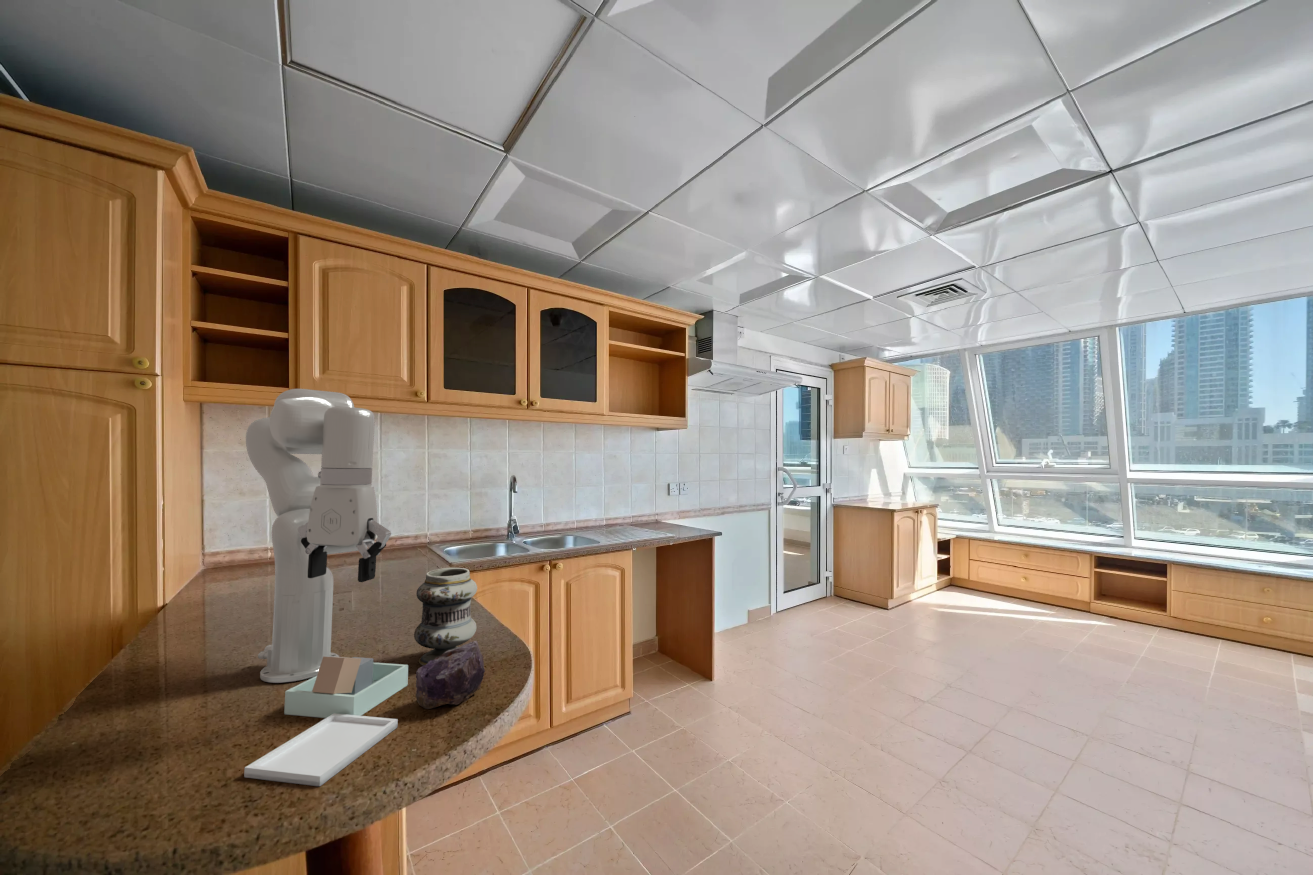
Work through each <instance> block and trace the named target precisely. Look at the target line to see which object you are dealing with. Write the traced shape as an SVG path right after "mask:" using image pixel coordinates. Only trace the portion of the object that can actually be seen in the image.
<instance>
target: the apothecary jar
mask: <svg viewBox="0 0 1313 875" xmlns="http://www.w3.org/2000/svg"><path fill="white" fill-rule="evenodd" d="M477 592H478V585H477V582H476V581H475V580H473V579H472V578H471V575H470V570H469V569H468V568H464V567H443V568H438V569H433V570H430V571H428V572H426V575H425V580H424V582H423V583H422V584H420V586H418V588H417V590H416V597H417V599H418V601H420V602H421V603H422V611H421V612H422V613H421V614H422V615H421V621H420V623H419V624H418V625H417V626H416V628H415V630H414V634H413V637H414V640H415V642H416V643H417V644H418V645H419V646H421V647H422V648H423V647H424V648H426V649H432V650H430V651H428V652H426V653H424V654H423V655H421V657H420V658H419V660H418V663H419V664H420V665H421V666H424V665H426V664H427V663H428V662H429V661H430V660H434V659H435V658H437V657H439V656H441V655H442V654H444V653H445V652H446V651H448V650H453V649H456V648H458V647H459V646H460V645H461V646H462V645H464V644H466V642H468V641H470V640H471V639H472V637H473V636H474V635H475V634H476V631H477V623H476V621H475V620H474V619H473V618H472V614H471V613H472V612H471V610H472V609H471V608H472V607H471V605H472V598H473V597H474V596H475V595H476V593H477Z"/></svg>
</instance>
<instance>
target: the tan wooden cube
mask: <svg viewBox="0 0 1313 875" xmlns="http://www.w3.org/2000/svg"><path fill="white" fill-rule="evenodd" d="M361 658H362V657H360V658H353V657H346V656H345V657H343V656H339V657H323V659H322V662H321V665H320V668H319V671H318V674H317V678H316V681H315V684H314V687H313V690H312V692H320V693H332V694H336V693H352V689H353V686H354V682H355V679H356V676H357V672H358V669H359V665H360V662H361Z"/></svg>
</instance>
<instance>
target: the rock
mask: <svg viewBox="0 0 1313 875" xmlns="http://www.w3.org/2000/svg"><path fill="white" fill-rule="evenodd" d="M457 647H458V648H456V649H453V650H448V651H446V652H445V653H444V654H442V655H441V656H439V657H437V658H435V659H434V660H430V661H429V662H428V663H427V664H426V665H424V666H423V665H421V666H420V667H418V669H416V673H415V674H416V675H415V678H416V680H415V681H416V682H415V687H416V692H415V698H416V702H417V703H418V705H419V706H420V707H422V708H423V709H427V710H431V709H435V708H437V707H441V706H445V705H447V704H448V705H456V706H457V705H460V704H461V703H462V702H466V701H468V700H469V698H470V697H472V696H473V695H474V694H475V693H476V692H477V691H478V690H480V689H481V688H482V682H483V679H484V675H485V672H486V670H485V664H484V663H485V662H484V661H485V660H484V656H483V654H482V652H481V650H480V646H479V643H478V640H473V641H470V642H468V643H464V644H462V645H461V646H457Z"/></svg>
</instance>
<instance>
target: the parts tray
mask: <svg viewBox="0 0 1313 875" xmlns="http://www.w3.org/2000/svg"><path fill="white" fill-rule="evenodd" d="M398 721H399V720H398V718H389V717H377V716H368V715H367V716H366V715H361V716H358V715H347V714H336V713H334V714H332V715H330V716H329V717H327V718H323V719H322V720H320V721H319V722H317V723H315V724H314V725H313V726H311V727H309V728H307V729H305V730H304V731H302V732H300V733H299V734H298V735H296V736H295V737H293V738H292V737H291V739H289V740H288V741H286V742H285V743H283V744H281V745H279V746H278V747H276V748H275V749H273V750H271V751H269V752H267V753H266V754H265V755H263V756H261V757H260V758H258V759H256V760H255V761H253V762H251V763H250V764H248V765H247V766H245V767H244V772H243V773H244V774H243V775H244V776H243V778H248V779H255V780H256V779H257V780H265V781H271V782H280V783H288V784H295V785H296V784H297V785H298V784H299V785H305V786H306V785H307V786H314V787H321V786H322V785H324V784H325V783H326V782H328V781H329V780H330V779H331V778H333V777H335V775H337V774H338V773H340V772H341V771H342V770H343V769H345V768H346V767H347V766H349V765H350V764H351V763H352V762H354V761H355V760H356V759H358V758H359V757H360V756H362V755H363V754H364V753H366V752H367V751H368V750H369V749H371V748H372V747H374V746H375V745H376V744H378V743H379V742H380V741H381V740H383V739H384V738H386V737H387V736H388V735H389V734H390V733H392V732H393V731H395V730H397V729H398Z"/></svg>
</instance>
